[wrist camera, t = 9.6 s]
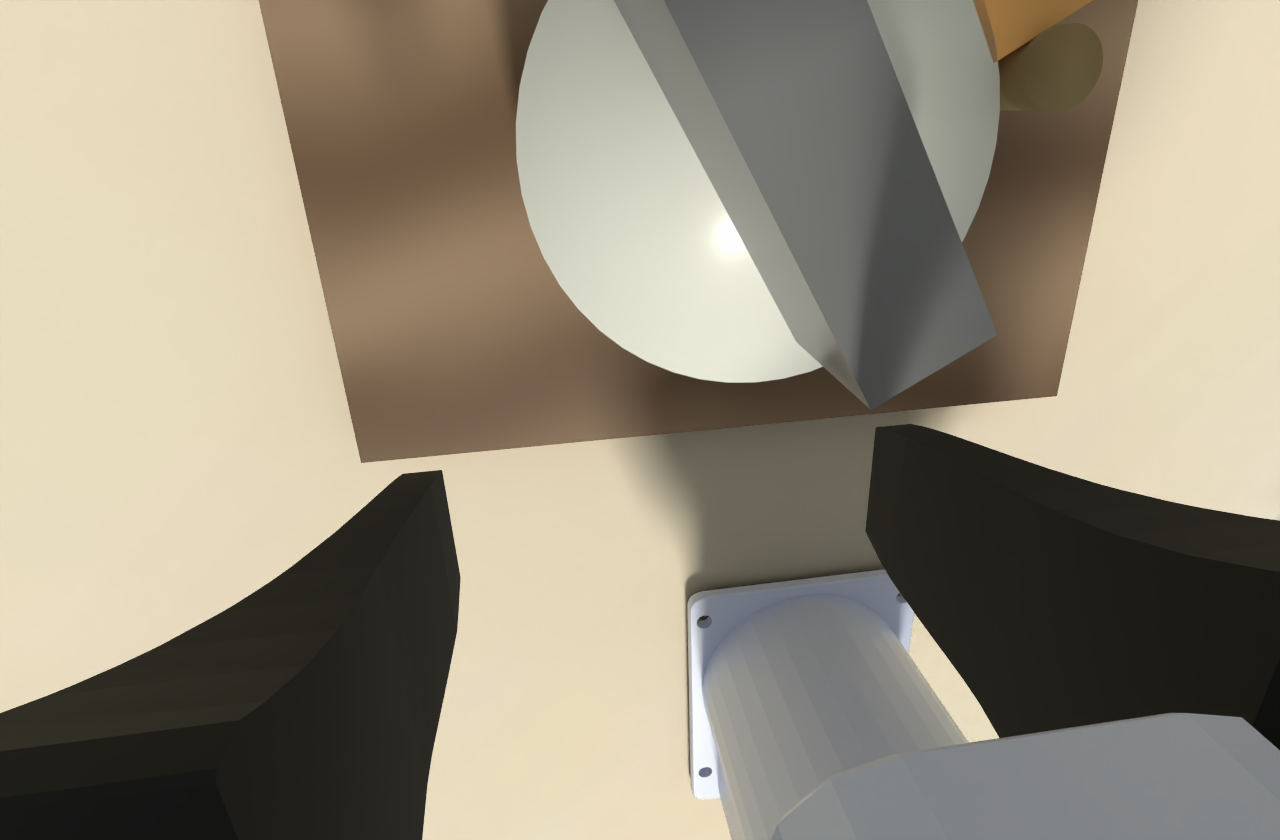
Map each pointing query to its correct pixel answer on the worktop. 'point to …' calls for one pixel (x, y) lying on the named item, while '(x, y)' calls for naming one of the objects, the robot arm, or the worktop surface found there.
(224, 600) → the worktop surface
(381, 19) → the walnut base
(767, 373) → the flange disc
